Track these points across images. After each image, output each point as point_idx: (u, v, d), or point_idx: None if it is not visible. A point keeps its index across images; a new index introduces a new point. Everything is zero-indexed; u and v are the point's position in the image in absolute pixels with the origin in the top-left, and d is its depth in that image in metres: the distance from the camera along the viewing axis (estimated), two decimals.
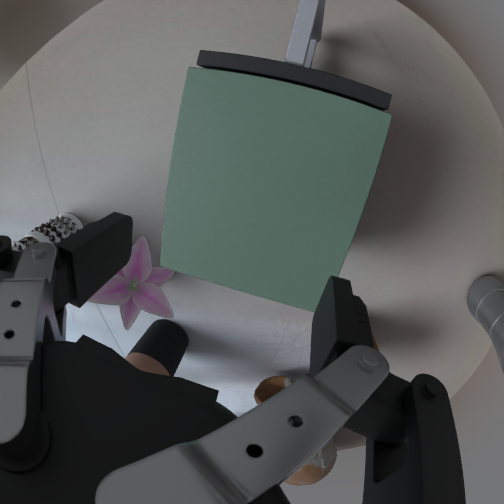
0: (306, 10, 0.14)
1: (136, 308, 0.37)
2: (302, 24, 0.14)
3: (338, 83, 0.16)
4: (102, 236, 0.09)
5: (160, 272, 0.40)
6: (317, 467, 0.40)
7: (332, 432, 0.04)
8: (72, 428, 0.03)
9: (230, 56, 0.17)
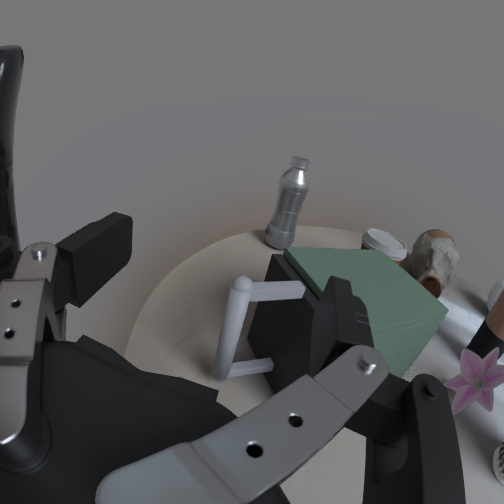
0: (262, 286, 0.25)
1: (484, 362, 0.32)
2: (275, 285, 0.26)
3: (290, 272, 0.30)
4: (102, 236, 0.09)
5: (454, 385, 0.34)
6: (428, 235, 0.65)
7: (332, 432, 0.04)
8: (72, 428, 0.03)
9: None
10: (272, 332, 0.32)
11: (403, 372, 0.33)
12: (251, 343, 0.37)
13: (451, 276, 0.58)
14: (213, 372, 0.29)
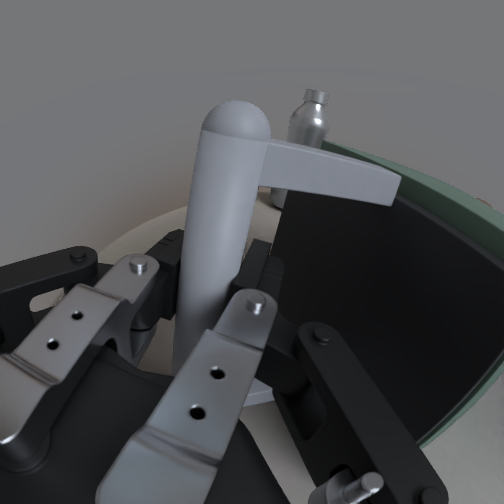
0: (299, 146, 0.08)
1: None
2: (332, 154, 0.08)
3: None
4: None
5: None
6: None
7: (253, 372, 0.05)
8: (72, 428, 0.03)
9: (481, 251, 0.07)
10: (302, 312, 0.15)
11: (501, 373, 0.16)
12: None
13: None
14: None
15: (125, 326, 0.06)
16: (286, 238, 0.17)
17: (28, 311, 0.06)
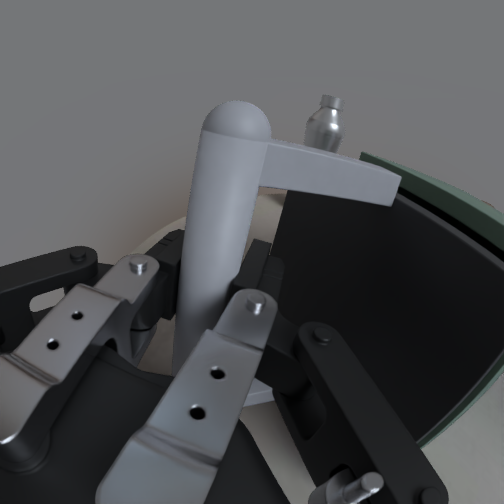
0: (299, 146, 0.08)
1: None
2: (332, 154, 0.08)
3: None
4: None
5: None
6: None
7: (254, 372, 0.05)
8: (72, 428, 0.03)
9: (481, 251, 0.07)
10: (302, 312, 0.15)
11: None
12: None
13: None
14: None
15: (125, 326, 0.06)
16: (286, 238, 0.17)
17: (28, 311, 0.06)
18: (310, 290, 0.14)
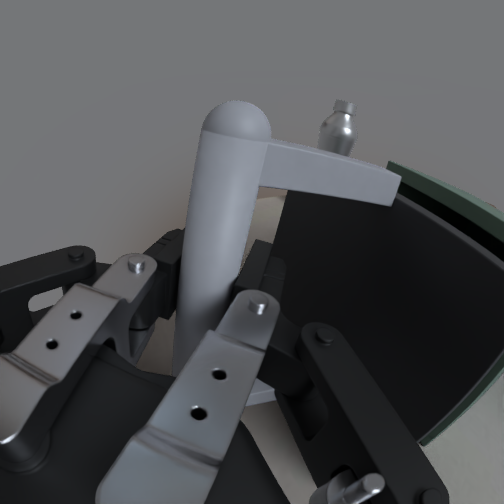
0: (299, 146, 0.08)
1: None
2: (332, 154, 0.08)
3: None
4: None
5: None
6: None
7: (255, 373, 0.05)
8: (72, 428, 0.03)
9: (481, 251, 0.07)
10: (303, 312, 0.15)
11: None
12: None
13: None
14: None
15: (123, 325, 0.06)
16: (286, 238, 0.17)
17: (27, 311, 0.06)
18: (310, 290, 0.14)
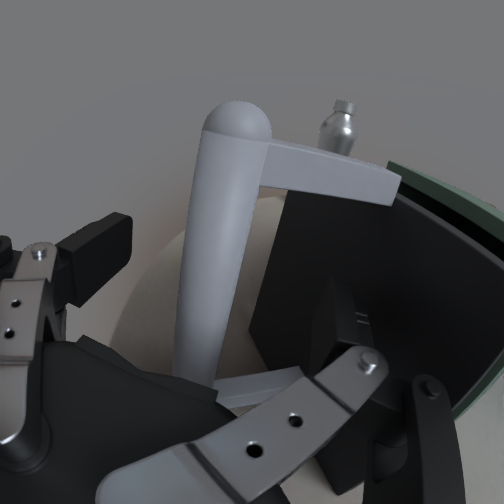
0: (299, 146, 0.08)
1: None
2: (332, 154, 0.08)
3: None
4: (102, 236, 0.09)
5: None
6: None
7: (332, 432, 0.04)
8: (72, 428, 0.03)
9: (481, 250, 0.07)
10: (303, 312, 0.15)
11: None
12: (256, 338, 0.20)
13: None
14: None
15: (50, 304, 0.06)
16: (286, 238, 0.17)
17: None
18: (310, 290, 0.14)
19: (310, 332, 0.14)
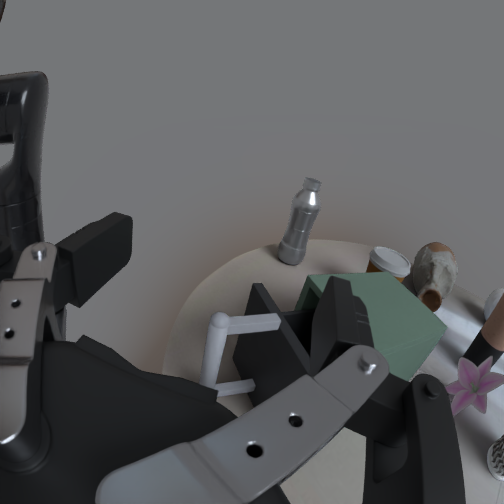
0: (239, 320, 0.27)
1: (479, 369, 0.36)
2: (251, 319, 0.27)
3: (269, 303, 0.31)
4: (102, 236, 0.09)
5: (451, 390, 0.38)
6: (429, 248, 0.69)
7: (332, 432, 0.04)
8: (72, 428, 0.03)
9: (299, 354, 0.25)
10: (253, 356, 0.34)
11: (407, 380, 0.37)
12: (236, 362, 0.39)
13: (450, 287, 0.62)
14: None
15: (50, 304, 0.06)
16: None
17: None
18: (255, 348, 0.33)
19: (255, 365, 0.33)
